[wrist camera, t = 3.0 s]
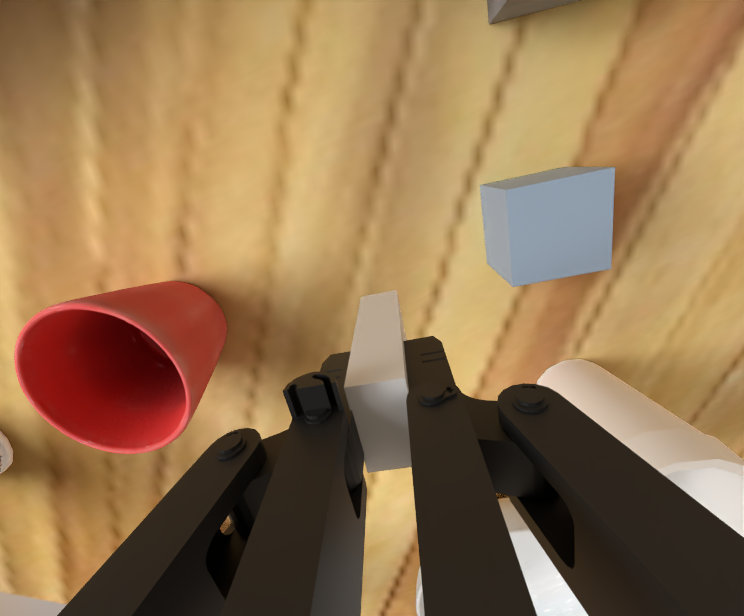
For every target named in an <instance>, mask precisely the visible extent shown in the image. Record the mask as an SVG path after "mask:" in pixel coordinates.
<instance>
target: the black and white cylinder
mask: <svg viewBox="0 0 744 616" xmlns="http://www.w3.org/2000/svg"><path fill="white" fill-rule="evenodd" d="M13 452H14V451H13V449H12V447H11V445H10V443H9V440H8V439H7V437H6V436H5V435H4V434H3V433H2V432H1V431H0V473H3V472H4V471H5V470H6V469H7V468H8V467H9V466H10V465H11V464H12V462H13Z"/></svg>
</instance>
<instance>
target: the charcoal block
mask: <svg viewBox="0 0 744 616" xmlns="http://www.w3.org/2000/svg"><path fill="white" fill-rule="evenodd" d="M577 1H580V0H487V4H488V17H489V24H493V23H497V22H500V21H504V20H508V19H512V18H516V17H519V16H523V15H527V14H531V13H535V12H538V11H542V10H546V9H550V8H554V7H558V6H561V5H565V4H569V3H573V2H577Z"/></svg>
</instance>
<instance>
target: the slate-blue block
mask: <svg viewBox="0 0 744 616" xmlns="http://www.w3.org/2000/svg"><path fill="white" fill-rule="evenodd" d="M614 182H615V167H562V168H557V169H553V170H548V171H543V172H539V173H534V174H529V175H525V176H520V177H516V178H511V179H506V180H502V181H497V182H492V183H488V184H483V185H480V192H481V203H482V214H483V225H484V235H485V246H486V257H487V264H488V265H489V266H490V267H492V268H493V269H494V270H495V271H496V272H497V273H498V274H499V275H500V276H501V277H502V278H504V279H505V280H506V281H507V282H508V283H509V284H510V285H511V286H512V287H515V286H521V285H526V284H532V283H537V282H542V281H548V280H553V279H559V278H564V277H570V276H575V275H580V274H586V273H591V272H597V271H602V270H608V269H611V259H612V234H613V208H614Z"/></svg>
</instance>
